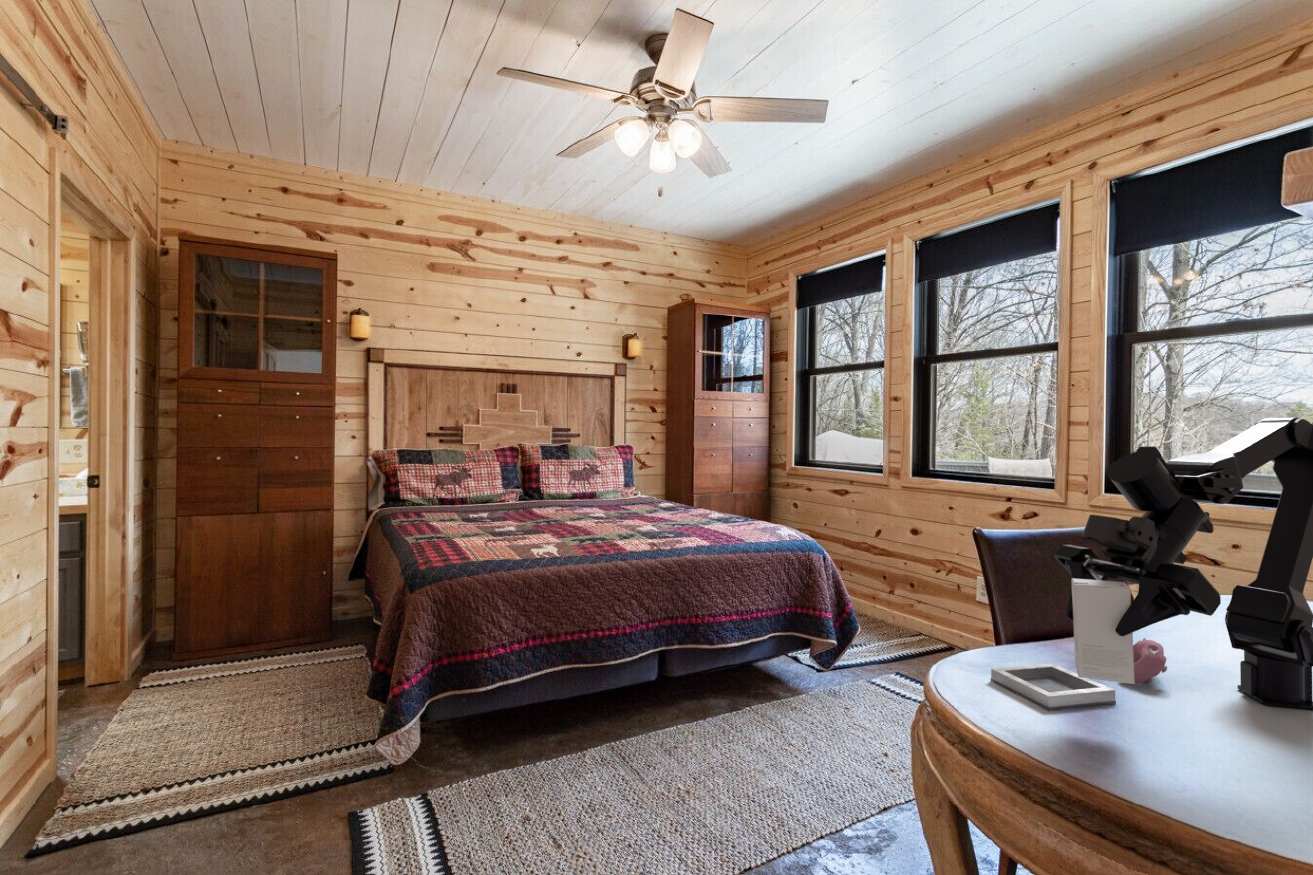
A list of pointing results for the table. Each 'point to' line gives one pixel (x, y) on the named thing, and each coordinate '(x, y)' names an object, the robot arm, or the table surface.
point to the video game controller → (1148, 660)
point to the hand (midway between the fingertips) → (1092, 625)
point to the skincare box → (1101, 630)
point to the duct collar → (1052, 686)
